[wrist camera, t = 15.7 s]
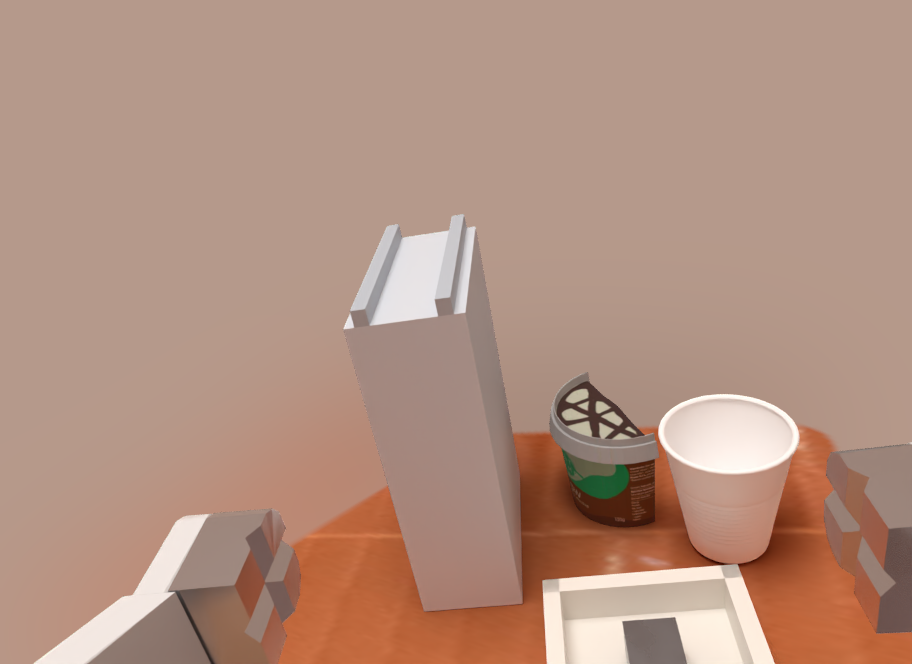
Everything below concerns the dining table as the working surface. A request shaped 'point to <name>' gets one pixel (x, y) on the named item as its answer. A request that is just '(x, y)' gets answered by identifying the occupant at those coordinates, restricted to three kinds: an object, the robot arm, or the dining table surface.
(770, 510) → the cup
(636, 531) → the dining table surface
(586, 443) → the food container
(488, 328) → the channel block
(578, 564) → the dining table surface
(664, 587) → the tray
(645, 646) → the dark gray bar
